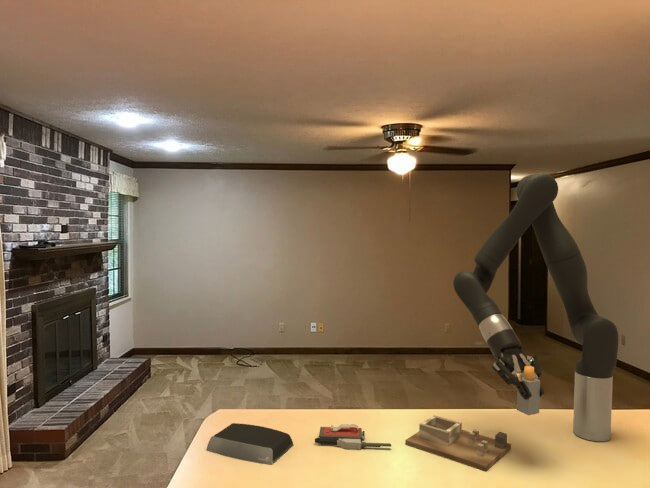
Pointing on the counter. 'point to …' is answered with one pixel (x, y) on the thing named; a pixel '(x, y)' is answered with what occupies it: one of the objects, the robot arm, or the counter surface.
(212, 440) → the external hard drive
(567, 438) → the counter surface
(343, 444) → the walkie-talkie
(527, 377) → the connector plug
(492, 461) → the board
